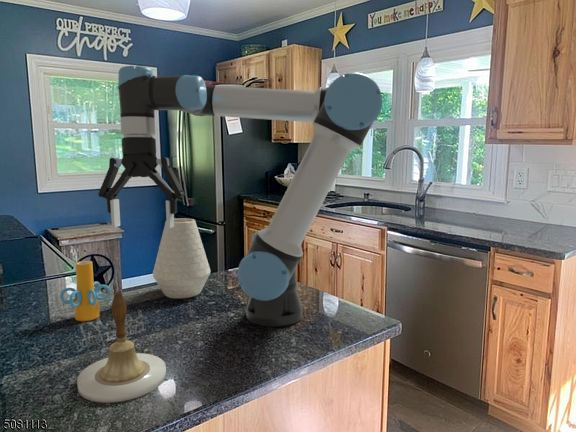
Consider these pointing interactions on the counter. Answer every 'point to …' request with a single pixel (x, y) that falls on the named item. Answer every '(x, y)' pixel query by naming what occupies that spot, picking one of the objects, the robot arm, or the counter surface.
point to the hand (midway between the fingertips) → (143, 227)
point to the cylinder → (85, 293)
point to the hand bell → (121, 349)
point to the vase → (181, 260)
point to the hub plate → (108, 392)
